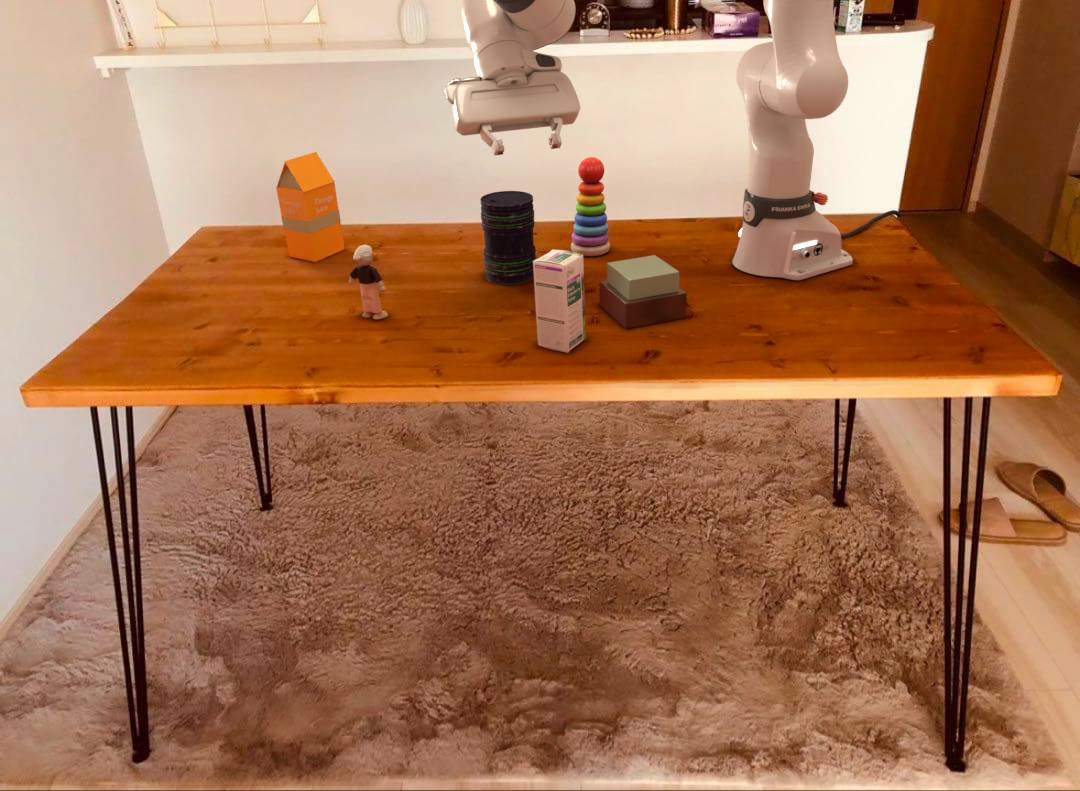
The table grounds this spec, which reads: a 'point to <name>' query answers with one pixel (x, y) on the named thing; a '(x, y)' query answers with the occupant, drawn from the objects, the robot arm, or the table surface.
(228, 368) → the table surface
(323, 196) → the orange juice
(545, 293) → the syrup box
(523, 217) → the dark blue cylinder
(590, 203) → the stacking toy
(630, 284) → the top block
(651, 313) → the base block
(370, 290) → the grandmother figurine
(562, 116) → the robot arm
